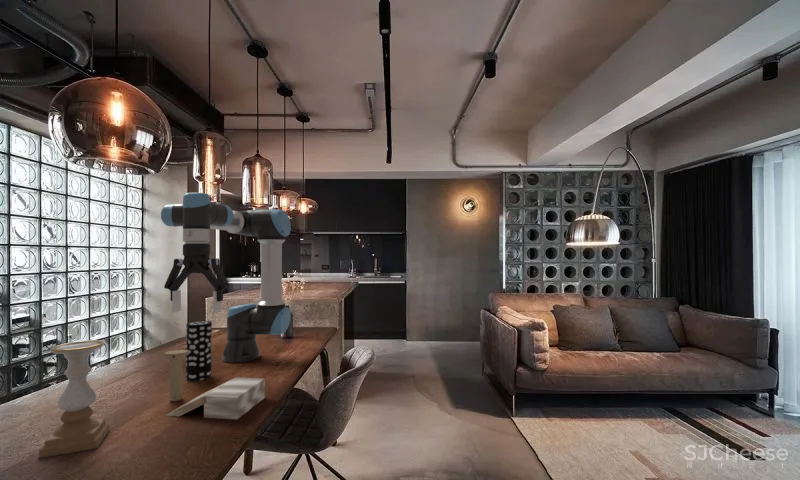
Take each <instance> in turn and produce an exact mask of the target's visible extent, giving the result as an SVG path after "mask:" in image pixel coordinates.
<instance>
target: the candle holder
mask: <svg viewBox="0 0 800 480" xmlns="http://www.w3.org/2000/svg"><path fill="white" fill-rule="evenodd" d="M104 345H105V342H104V341H103V340H100V339H99V340H98V339H94V340H93V339H91V340H90V339H89V340H79V341H71V342H65V343H61V344H58V345H54V346H53V347H51V348H50V353H52V354H54V355H56V354H57V355H63V357H64V358H65V359H66V360H67V362H68V366H67V368H66V370H65V371H63V375H64V376H66V378H67V379H68V384H67V386H66V387H65V389H64V390H63V392H62V393H60V396H59V397H58V400H57V407H58V408H59V409H60V410H61V411H64V412H62V414H61V416H60V421H61V423H62V424H60V425H59V426H58V427H57V428H56V429H55V430H53V432H52V433H51V434H50V435H48V437H47V438H46V440H45V441H44V444H43V445H42V446H41V447H40V448H39V450H38V459H43V458H50V457H55V456H57V457H58V456H63V455H68V454H75V453H79V452H86V451H90V450H95V449H97V448H98V447H99V446H100V445H101V444H102V442H103V440H104V439H105V437H106V436H107V435H108V433H109V431H110V422H106V419H105V418H97V419H95V418H92V417H91V416H92V415H94V410H93V408H92V407H90V406H91V405H92V404H94V402H95V401H96V399H97V393H96V390H95V389H94V388H93V387H92V386H91V385H90V384H89V382H88V380H87V377H88V376H89V374H90V372H91V371H92V367H90V365H89V363H88V359H89V357H90V356H91V355H92V353H93V351H94V350H98V349H101V348H103V347H104Z"/></svg>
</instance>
